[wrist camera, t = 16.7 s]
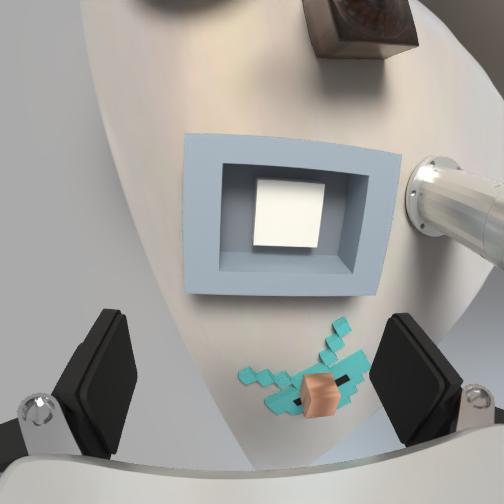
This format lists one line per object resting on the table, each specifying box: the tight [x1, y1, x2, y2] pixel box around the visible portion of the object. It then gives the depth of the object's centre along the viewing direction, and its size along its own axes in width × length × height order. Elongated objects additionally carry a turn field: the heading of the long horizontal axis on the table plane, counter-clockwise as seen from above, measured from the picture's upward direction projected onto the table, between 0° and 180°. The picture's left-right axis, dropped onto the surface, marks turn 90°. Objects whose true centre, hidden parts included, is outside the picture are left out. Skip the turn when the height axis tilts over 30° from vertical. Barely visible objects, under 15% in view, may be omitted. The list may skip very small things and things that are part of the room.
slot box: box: [183, 133, 402, 296], centre depth 36 cm, size 24×18×7 cm
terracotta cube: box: [299, 373, 341, 418], centre depth 47 cm, size 5×5×6 cm
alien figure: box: [238, 317, 371, 416], centre depth 51 cm, size 20×2×20 cm
